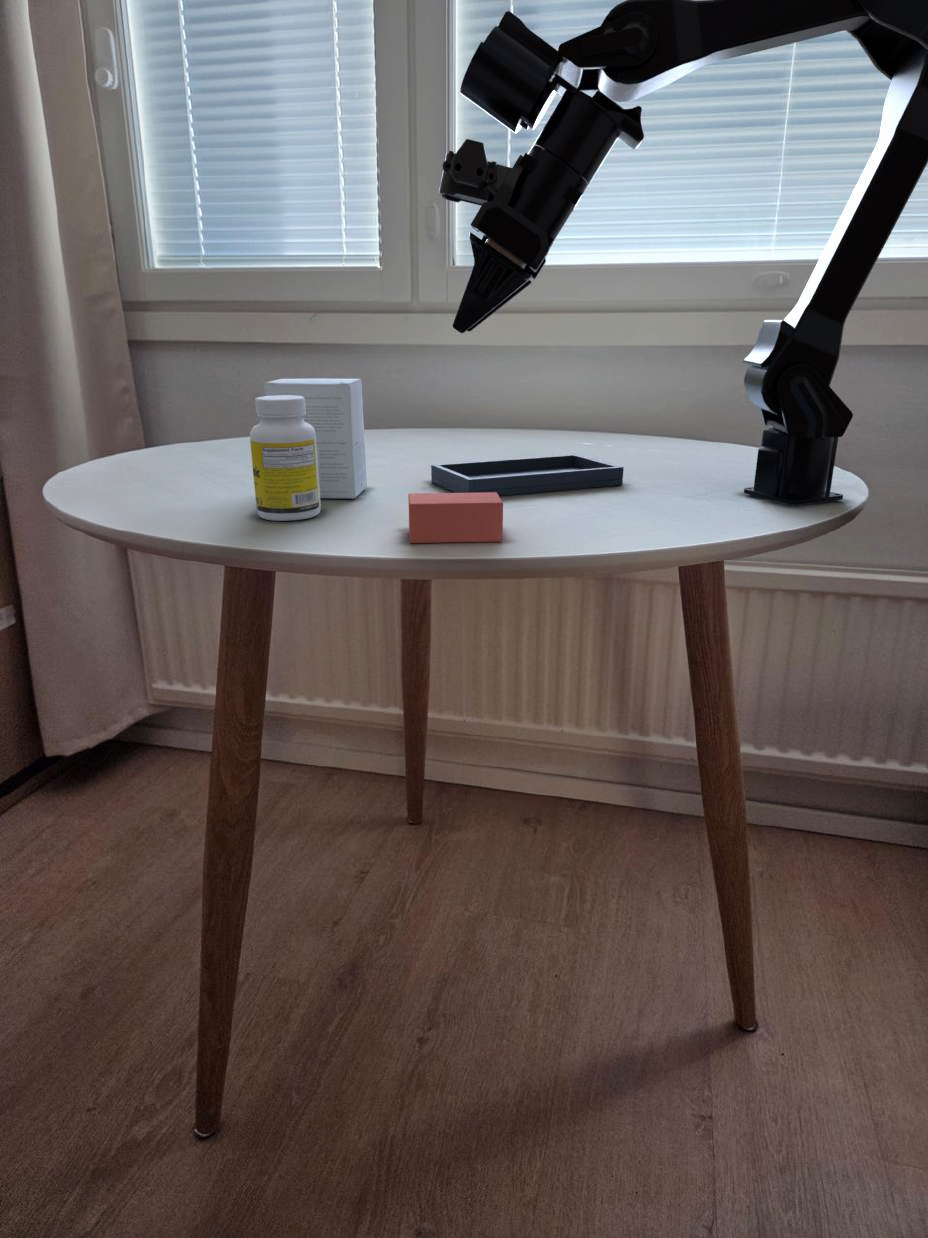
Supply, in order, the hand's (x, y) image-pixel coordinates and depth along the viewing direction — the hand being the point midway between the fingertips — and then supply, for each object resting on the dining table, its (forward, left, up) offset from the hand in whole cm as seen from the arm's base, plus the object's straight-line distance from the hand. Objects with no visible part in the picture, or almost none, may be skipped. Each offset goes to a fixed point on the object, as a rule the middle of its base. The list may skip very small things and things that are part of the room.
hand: (461, 329), depth 76 cm
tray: (-8, -1, -15) cm, 17 cm away
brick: (+8, +16, -15) cm, 23 cm away
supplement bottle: (+18, +3, -15) cm, 23 cm away
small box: (+13, -5, -15) cm, 20 cm away
